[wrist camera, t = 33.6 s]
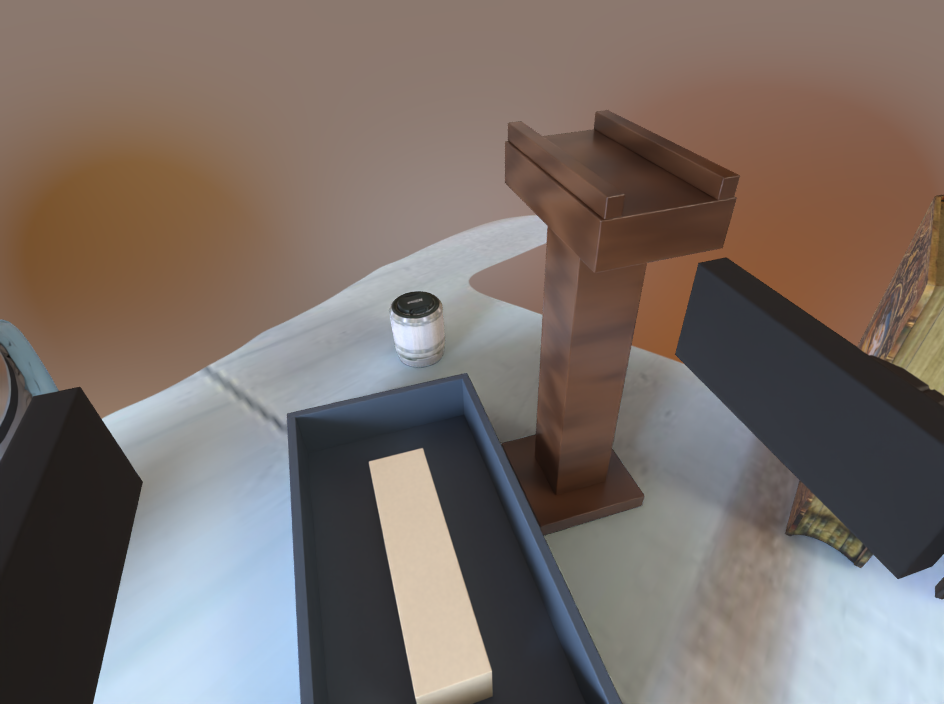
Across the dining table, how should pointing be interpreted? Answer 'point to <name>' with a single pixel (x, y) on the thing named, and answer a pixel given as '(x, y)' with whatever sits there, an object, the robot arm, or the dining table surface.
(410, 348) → the camera lens
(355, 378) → the dining table surface
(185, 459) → the dining table surface
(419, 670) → the carton
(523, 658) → the bin
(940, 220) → the book
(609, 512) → the stand
